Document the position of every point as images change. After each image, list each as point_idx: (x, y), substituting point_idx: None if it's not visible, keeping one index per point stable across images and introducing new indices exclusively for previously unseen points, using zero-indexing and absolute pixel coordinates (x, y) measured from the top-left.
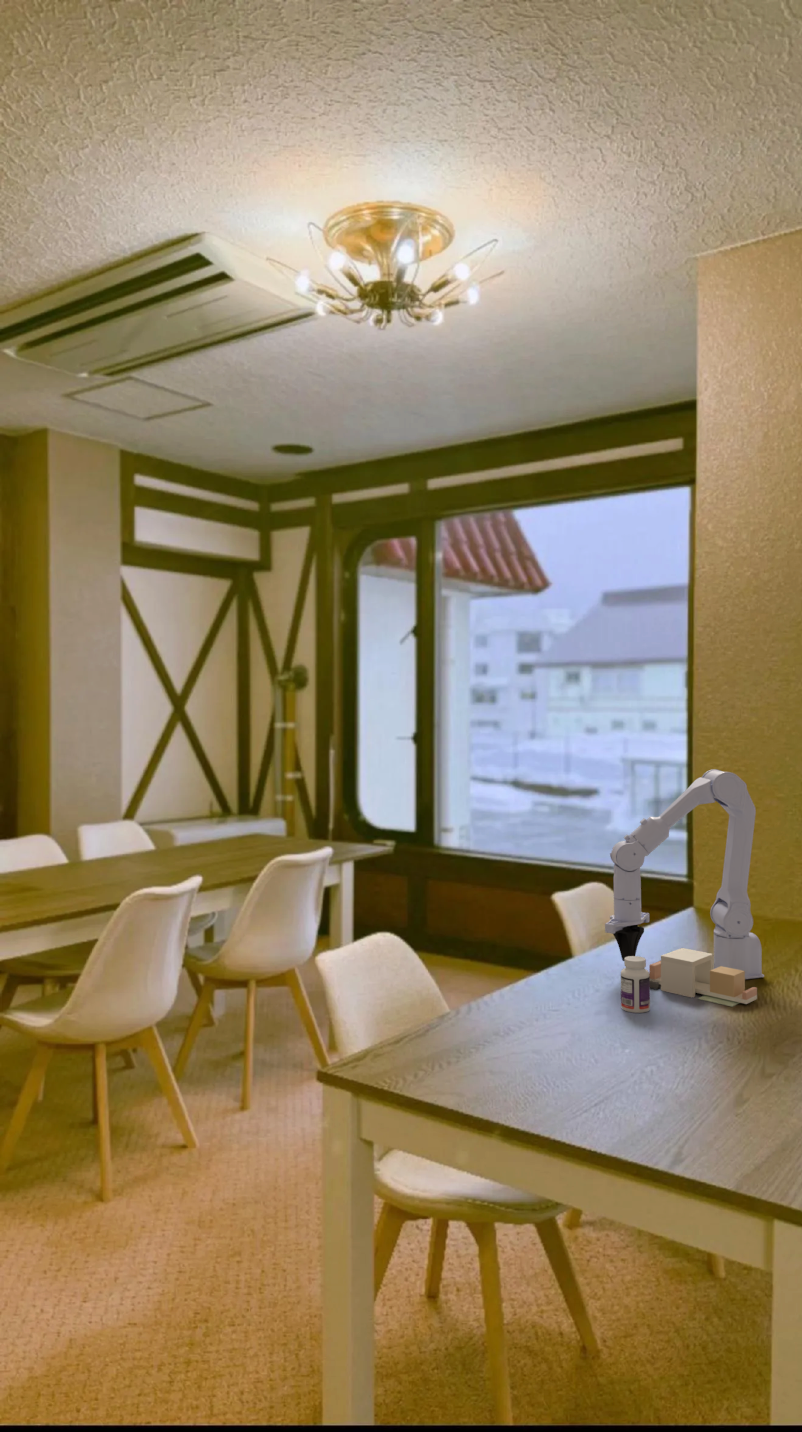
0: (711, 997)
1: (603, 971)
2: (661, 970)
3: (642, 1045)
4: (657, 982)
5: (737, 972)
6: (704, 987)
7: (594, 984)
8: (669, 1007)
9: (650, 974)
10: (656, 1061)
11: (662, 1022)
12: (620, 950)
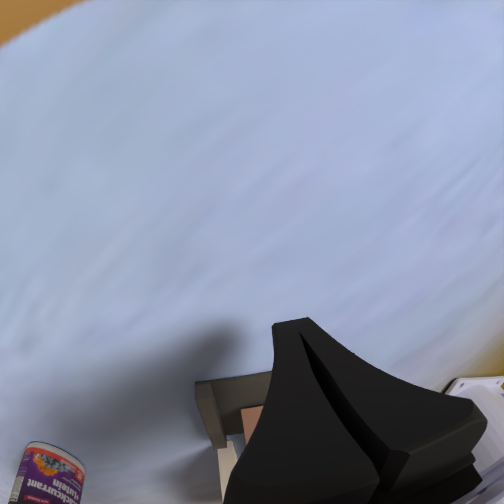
0: None
1: (245, 167)
2: (222, 495)
3: (6, 488)
4: (226, 446)
5: None
6: None
7: (52, 294)
8: (133, 486)
9: (245, 434)
10: (7, 499)
11: None
12: (275, 362)
